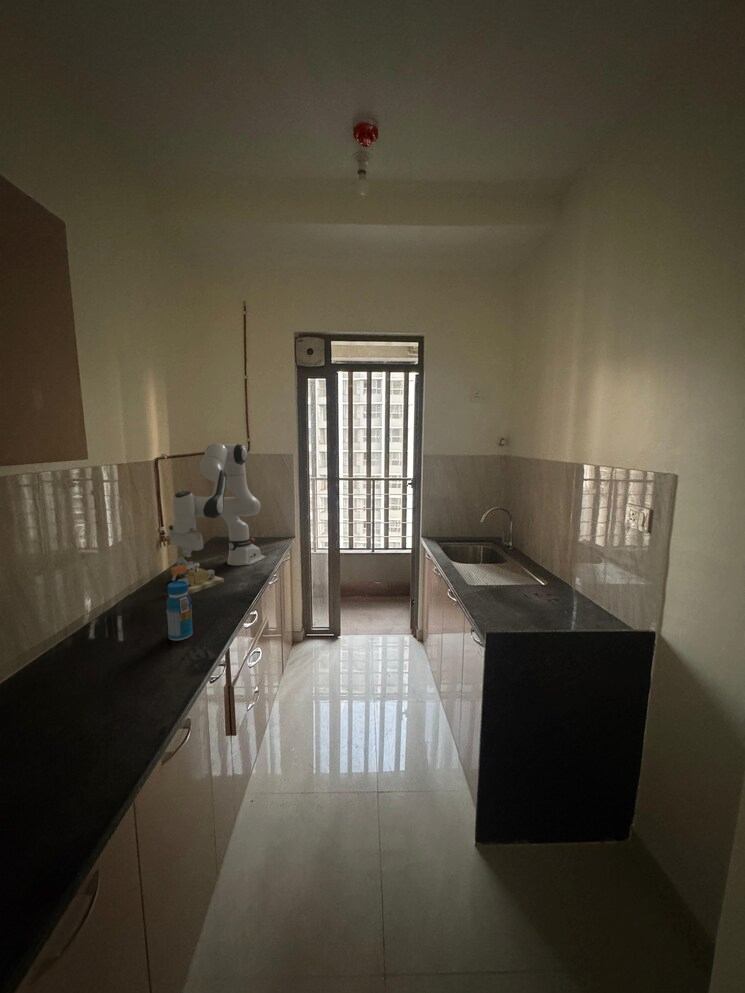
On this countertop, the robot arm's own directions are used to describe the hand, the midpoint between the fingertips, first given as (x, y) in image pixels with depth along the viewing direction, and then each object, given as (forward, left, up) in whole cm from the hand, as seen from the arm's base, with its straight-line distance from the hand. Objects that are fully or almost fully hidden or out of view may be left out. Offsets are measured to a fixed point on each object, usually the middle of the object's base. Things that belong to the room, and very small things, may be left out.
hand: (187, 556), depth 181 cm
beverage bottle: (+26, +33, -19) cm, 46 cm away
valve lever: (-3, -6, -9) cm, 11 cm away
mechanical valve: (-8, -18, -19) cm, 27 cm away
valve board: (-8, -6, -18) cm, 21 cm away
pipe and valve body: (-8, -6, -16) cm, 19 cm away
